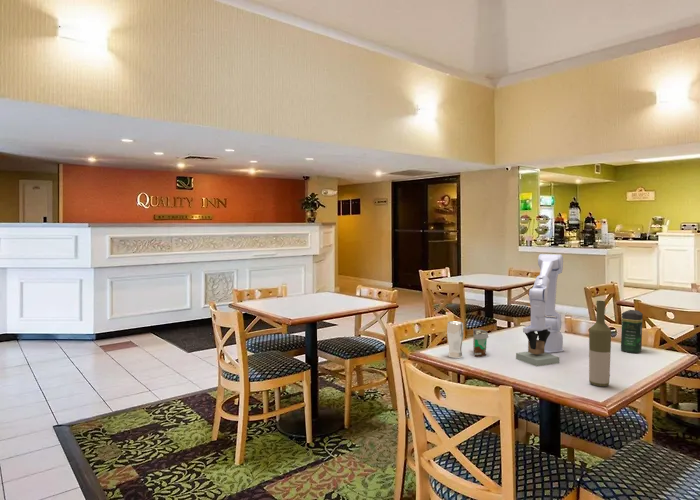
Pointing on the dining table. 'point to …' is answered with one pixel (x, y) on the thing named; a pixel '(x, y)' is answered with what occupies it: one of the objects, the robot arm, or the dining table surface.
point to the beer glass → (455, 338)
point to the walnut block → (537, 347)
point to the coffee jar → (631, 331)
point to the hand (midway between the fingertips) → (537, 348)
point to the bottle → (599, 349)
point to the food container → (479, 342)
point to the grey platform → (537, 358)
